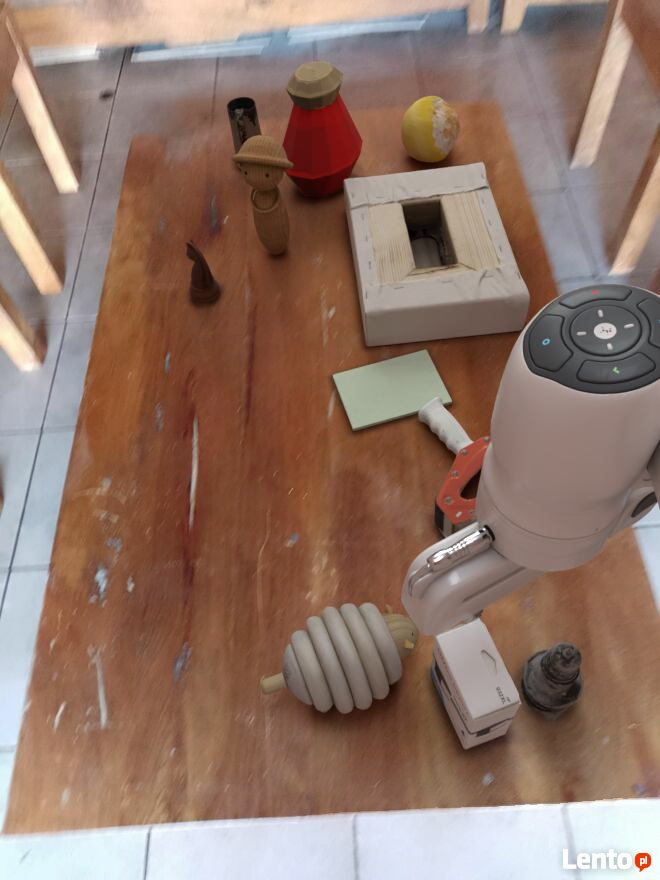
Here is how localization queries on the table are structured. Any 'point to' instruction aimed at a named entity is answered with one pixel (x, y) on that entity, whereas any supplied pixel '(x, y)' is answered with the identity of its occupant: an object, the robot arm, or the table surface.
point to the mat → (389, 389)
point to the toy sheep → (345, 657)
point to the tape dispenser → (454, 468)
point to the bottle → (319, 131)
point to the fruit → (430, 129)
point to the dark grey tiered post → (553, 679)
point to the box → (432, 256)
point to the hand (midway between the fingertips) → (515, 585)
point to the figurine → (266, 189)
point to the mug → (243, 121)
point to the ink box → (473, 683)
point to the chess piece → (201, 277)
